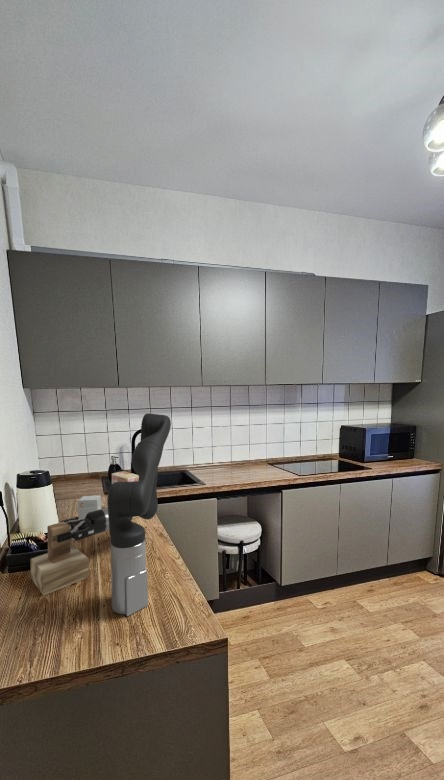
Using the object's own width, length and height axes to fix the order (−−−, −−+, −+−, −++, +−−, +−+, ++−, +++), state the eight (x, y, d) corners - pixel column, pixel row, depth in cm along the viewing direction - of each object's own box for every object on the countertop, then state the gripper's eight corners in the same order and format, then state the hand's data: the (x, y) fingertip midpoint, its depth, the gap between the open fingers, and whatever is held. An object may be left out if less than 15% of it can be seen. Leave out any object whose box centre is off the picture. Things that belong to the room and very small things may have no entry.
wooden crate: (90, 577, 103) (89, 557, 103) (43, 596, 94) (43, 574, 94) (74, 562, 113) (73, 544, 113) (30, 578, 103) (30, 558, 103)
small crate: (70, 557, 103) (69, 525, 104) (53, 563, 100) (52, 530, 100) (64, 552, 107) (64, 521, 107) (47, 557, 104) (47, 525, 104)
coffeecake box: (141, 516, 154) (140, 475, 154) (127, 521, 148) (126, 478, 149) (124, 509, 164) (124, 470, 164) (111, 513, 159) (110, 473, 159)
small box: (101, 524, 146) (101, 494, 146) (98, 530, 139) (97, 499, 140) (83, 525, 145) (82, 495, 145) (78, 531, 139) (77, 500, 139)
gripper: (93, 504, 119) (45, 517, 107) (111, 514, 108) (59, 529, 97) (94, 525, 118) (45, 540, 107) (112, 537, 108) (60, 554, 97)
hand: (52, 535), depth 102 cm, fingers open, 8 cm apart
